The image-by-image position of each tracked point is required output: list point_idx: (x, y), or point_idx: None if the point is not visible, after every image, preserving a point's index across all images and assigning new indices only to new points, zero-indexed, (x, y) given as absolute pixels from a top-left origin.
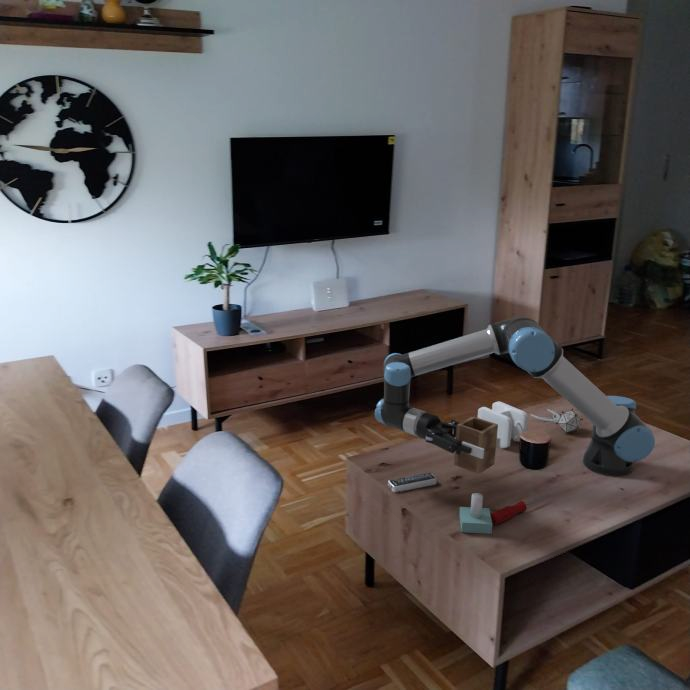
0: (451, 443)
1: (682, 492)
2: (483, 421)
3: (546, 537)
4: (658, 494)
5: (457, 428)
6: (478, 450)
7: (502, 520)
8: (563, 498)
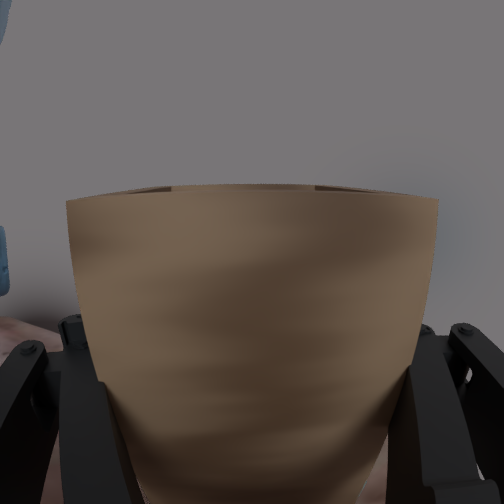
0: (473, 335)
1: (8, 317)
2: (155, 189)
3: None
4: (15, 329)
5: (428, 241)
6: None
7: None
8: None
